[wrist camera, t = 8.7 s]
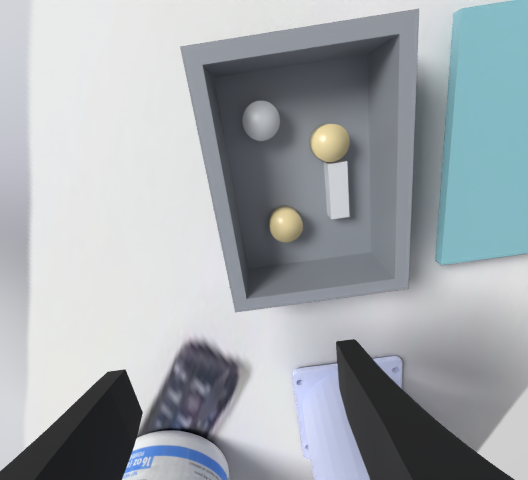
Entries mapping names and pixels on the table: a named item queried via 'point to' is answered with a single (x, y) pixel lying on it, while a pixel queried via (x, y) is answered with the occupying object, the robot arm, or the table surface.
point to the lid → (486, 136)
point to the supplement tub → (175, 458)
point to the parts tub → (310, 156)
